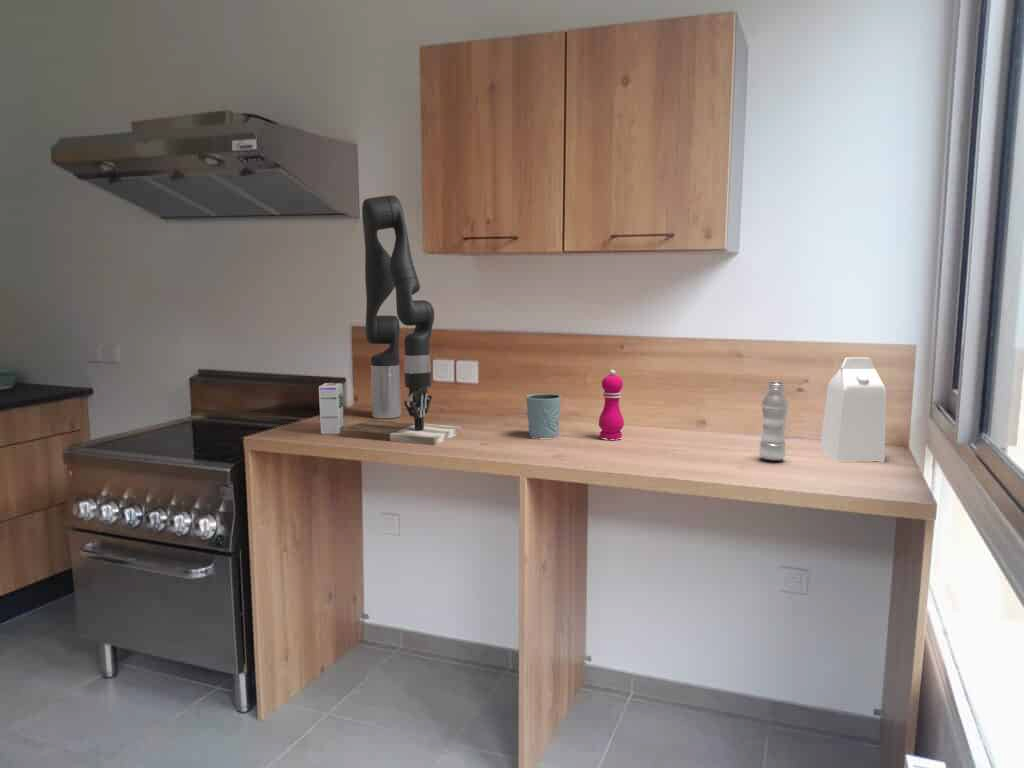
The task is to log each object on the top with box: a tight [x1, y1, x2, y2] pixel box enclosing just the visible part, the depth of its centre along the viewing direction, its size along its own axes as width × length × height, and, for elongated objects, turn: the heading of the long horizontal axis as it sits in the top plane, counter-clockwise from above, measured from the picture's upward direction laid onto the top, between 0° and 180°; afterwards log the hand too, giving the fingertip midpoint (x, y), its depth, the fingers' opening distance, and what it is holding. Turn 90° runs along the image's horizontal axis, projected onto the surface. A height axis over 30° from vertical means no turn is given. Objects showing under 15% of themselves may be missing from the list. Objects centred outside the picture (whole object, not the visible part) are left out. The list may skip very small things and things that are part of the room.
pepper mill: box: [598, 369, 625, 439], centre depth 216 cm, size 7×7×20 cm
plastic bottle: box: [758, 381, 790, 462], centre depth 191 cm, size 6×7×20 cm
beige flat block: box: [390, 423, 461, 446], centre depth 218 cm, size 17×14×2 cm
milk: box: [819, 357, 887, 461], centre depth 195 cm, size 12×12×26 cm
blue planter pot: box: [525, 392, 562, 439], centre depth 219 cm, size 10×10×12 cm
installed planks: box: [340, 418, 415, 442], centre depth 223 cm, size 17×16×2 cm
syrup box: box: [318, 382, 345, 435], centre depth 223 cm, size 6×6×14 cm
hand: (419, 429), depth 218 cm, fingers closed
